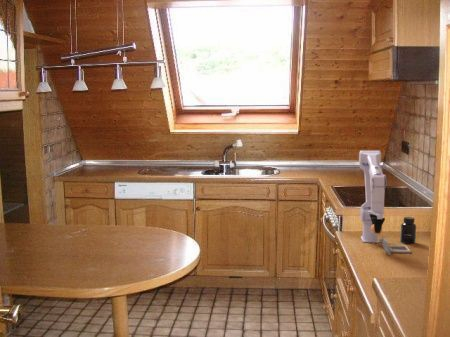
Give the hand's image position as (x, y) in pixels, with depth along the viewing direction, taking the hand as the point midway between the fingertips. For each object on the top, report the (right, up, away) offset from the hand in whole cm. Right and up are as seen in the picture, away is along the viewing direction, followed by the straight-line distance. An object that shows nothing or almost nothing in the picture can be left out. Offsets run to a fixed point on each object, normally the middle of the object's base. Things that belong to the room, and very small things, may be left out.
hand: (376, 231), depth 235 cm
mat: (+10, -8, 0) cm, 13 cm away
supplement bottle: (+18, -7, +12) cm, 23 cm away
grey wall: (+4, -8, +1) cm, 9 cm away
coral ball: (0, +1, 0) cm, 1 cm away
